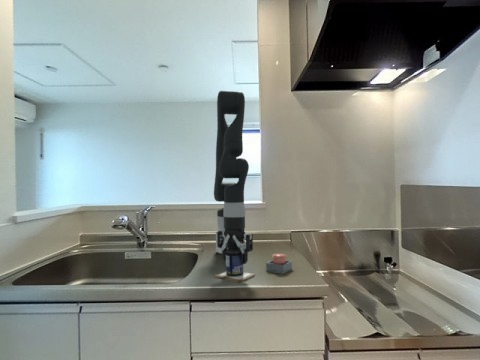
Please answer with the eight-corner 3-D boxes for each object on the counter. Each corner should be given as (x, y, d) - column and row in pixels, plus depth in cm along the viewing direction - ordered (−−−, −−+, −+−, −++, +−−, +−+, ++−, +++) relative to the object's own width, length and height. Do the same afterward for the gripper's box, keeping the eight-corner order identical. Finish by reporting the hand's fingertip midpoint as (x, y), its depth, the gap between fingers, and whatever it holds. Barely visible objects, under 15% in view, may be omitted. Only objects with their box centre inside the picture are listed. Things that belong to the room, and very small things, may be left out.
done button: (269, 266, 109) (269, 255, 109) (276, 263, 113) (276, 253, 113) (282, 268, 106) (281, 257, 106) (288, 265, 110) (287, 254, 110)
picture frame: (214, 277, 102) (214, 274, 102) (230, 270, 110) (230, 268, 110) (240, 283, 96) (240, 280, 96) (255, 275, 103) (255, 273, 103)
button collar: (266, 270, 109) (266, 262, 109) (275, 266, 115) (275, 258, 115) (283, 274, 105) (283, 265, 105) (291, 269, 111) (291, 261, 111)
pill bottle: (245, 272, 105) (245, 241, 105) (240, 277, 99) (239, 244, 99) (229, 270, 107) (228, 240, 107) (223, 276, 101) (222, 244, 101)
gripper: (211, 215, 104) (212, 261, 104) (245, 217, 96) (245, 267, 96) (224, 213, 110) (225, 256, 110) (257, 215, 102) (257, 262, 102)
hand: (234, 261), depth 103 cm, fingers open, 7 cm apart
